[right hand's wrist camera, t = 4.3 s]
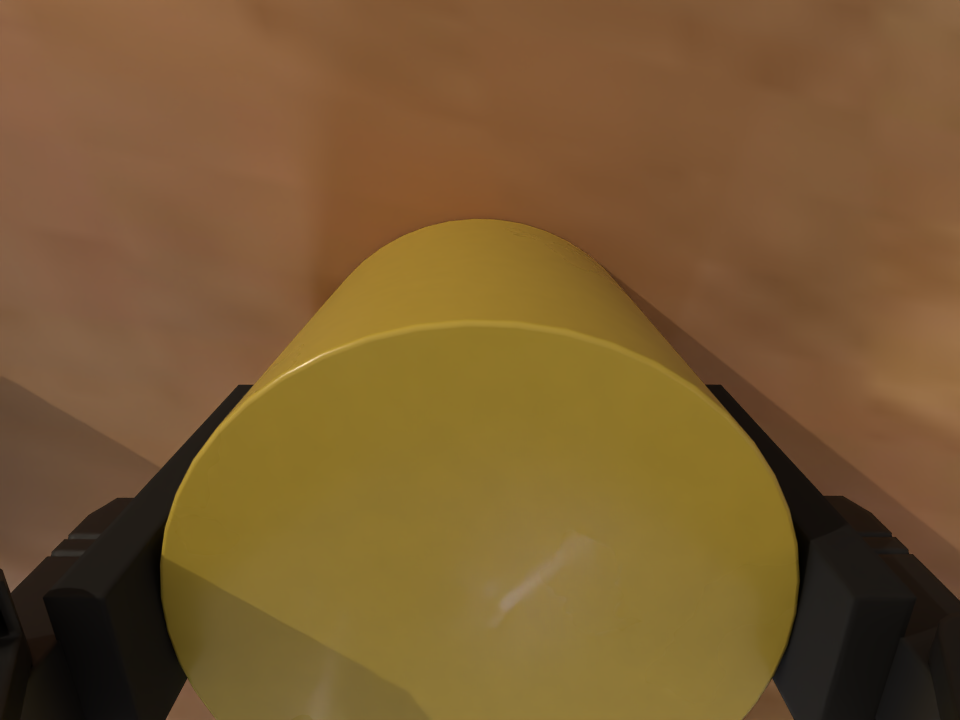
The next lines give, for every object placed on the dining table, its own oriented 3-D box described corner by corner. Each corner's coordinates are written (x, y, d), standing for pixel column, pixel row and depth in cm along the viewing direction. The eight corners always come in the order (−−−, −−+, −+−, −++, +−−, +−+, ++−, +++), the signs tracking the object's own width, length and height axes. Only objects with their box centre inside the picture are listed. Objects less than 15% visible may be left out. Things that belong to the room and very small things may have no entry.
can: (692, 462, 17) (864, 735, 10) (405, 570, 19) (353, 886, 11) (575, 154, 14) (687, 189, 7) (245, 309, 16) (17, 489, 8)
